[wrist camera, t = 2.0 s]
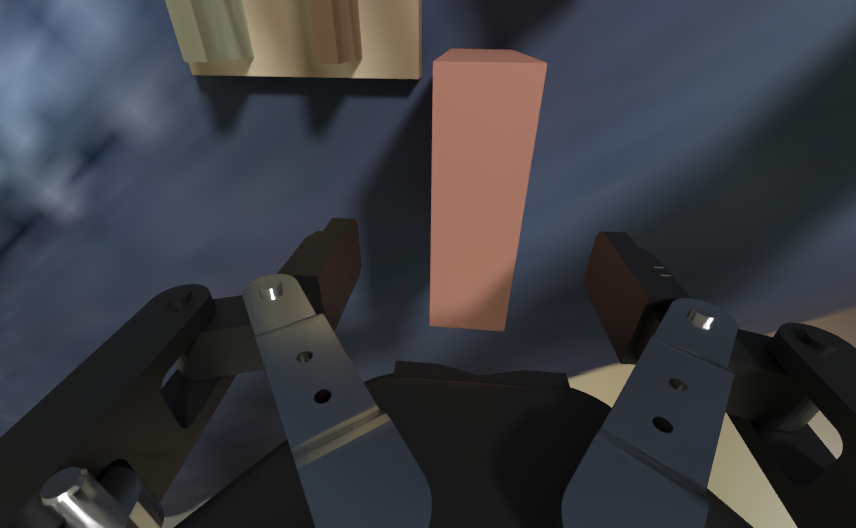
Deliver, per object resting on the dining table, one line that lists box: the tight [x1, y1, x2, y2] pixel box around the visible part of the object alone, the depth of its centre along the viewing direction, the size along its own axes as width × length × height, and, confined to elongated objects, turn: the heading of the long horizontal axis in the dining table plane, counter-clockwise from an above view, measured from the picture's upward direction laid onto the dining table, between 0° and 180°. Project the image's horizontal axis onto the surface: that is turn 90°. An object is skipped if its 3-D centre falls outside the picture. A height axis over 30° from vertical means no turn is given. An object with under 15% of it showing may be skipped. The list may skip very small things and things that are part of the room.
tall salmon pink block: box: [430, 49, 547, 331], centre depth 19 cm, size 4×11×12 cm, turn 0°
